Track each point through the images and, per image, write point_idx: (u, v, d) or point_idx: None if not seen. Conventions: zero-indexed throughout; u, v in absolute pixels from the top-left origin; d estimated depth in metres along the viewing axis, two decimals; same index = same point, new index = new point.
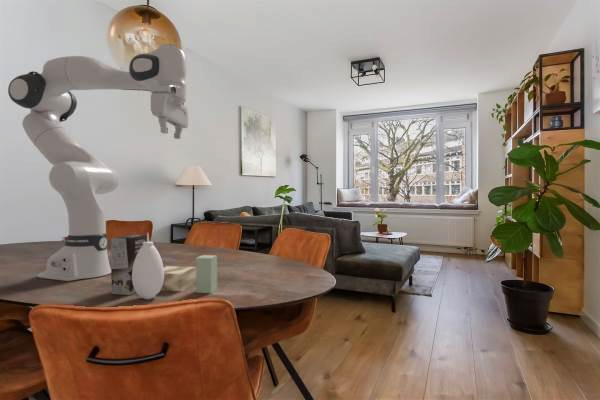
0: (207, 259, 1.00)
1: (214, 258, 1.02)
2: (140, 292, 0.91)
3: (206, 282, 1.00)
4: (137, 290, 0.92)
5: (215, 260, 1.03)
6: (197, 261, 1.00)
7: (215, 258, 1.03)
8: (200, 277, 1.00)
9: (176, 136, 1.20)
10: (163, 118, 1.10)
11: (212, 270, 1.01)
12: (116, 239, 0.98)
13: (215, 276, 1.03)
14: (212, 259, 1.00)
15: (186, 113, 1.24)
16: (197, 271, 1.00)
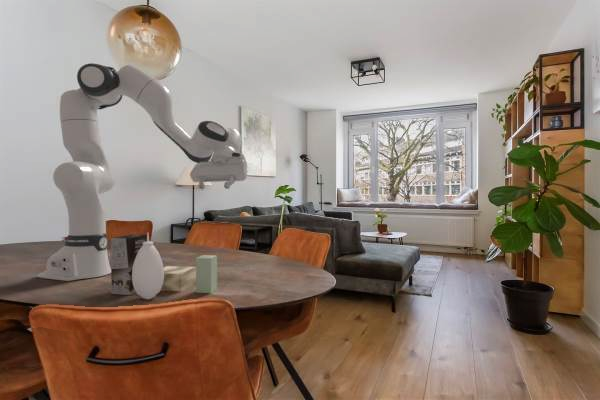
0: (207, 259, 1.00)
1: (214, 258, 1.02)
2: (140, 292, 0.91)
3: (206, 282, 1.00)
4: (137, 290, 0.92)
5: (215, 260, 1.03)
6: (197, 261, 1.00)
7: (215, 258, 1.03)
8: (200, 277, 1.00)
9: (202, 186, 1.21)
10: (234, 179, 1.22)
11: (212, 270, 1.01)
12: (116, 239, 0.98)
13: (215, 276, 1.03)
14: (212, 259, 1.00)
15: None
16: (197, 271, 1.00)
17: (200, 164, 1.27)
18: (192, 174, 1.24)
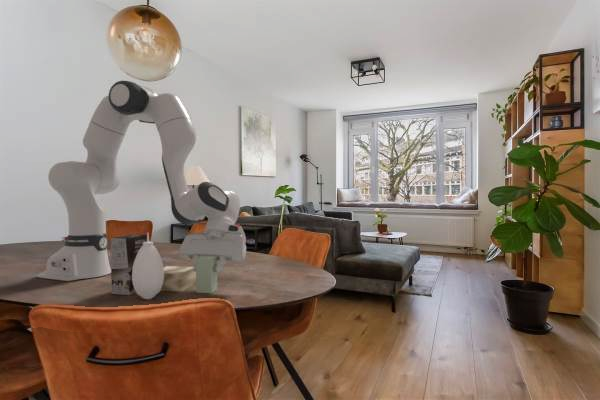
0: (207, 259, 1.00)
1: (214, 258, 1.02)
2: (140, 292, 0.91)
3: (206, 282, 1.00)
4: (137, 290, 0.92)
5: (215, 260, 1.03)
6: (197, 261, 1.00)
7: (215, 258, 1.03)
8: (200, 277, 1.00)
9: None
10: (225, 260, 1.04)
11: (212, 270, 1.01)
12: (116, 239, 0.98)
13: (215, 276, 1.03)
14: (212, 259, 1.00)
15: None
16: (197, 271, 1.00)
17: (191, 238, 1.08)
18: (181, 251, 1.05)
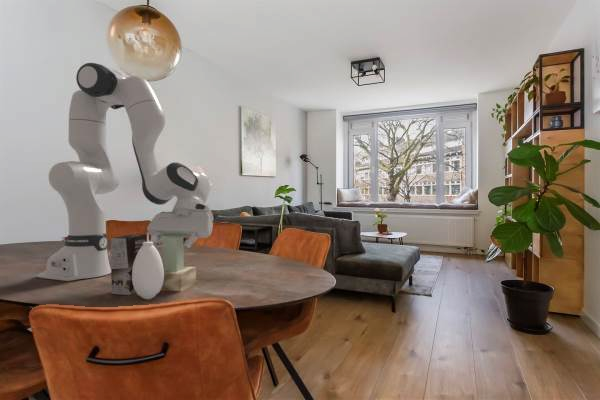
0: (173, 239, 1.04)
1: (180, 238, 1.07)
2: (140, 292, 0.91)
3: (172, 261, 1.04)
4: (137, 290, 0.92)
5: (181, 241, 1.07)
6: (163, 241, 1.05)
7: (181, 239, 1.07)
8: (166, 256, 1.05)
9: (160, 244, 1.07)
10: (197, 236, 1.08)
11: (178, 250, 1.05)
12: (116, 239, 0.98)
13: (181, 256, 1.07)
14: (178, 239, 1.05)
15: None
16: (163, 251, 1.05)
17: (160, 216, 1.13)
18: (149, 228, 1.10)
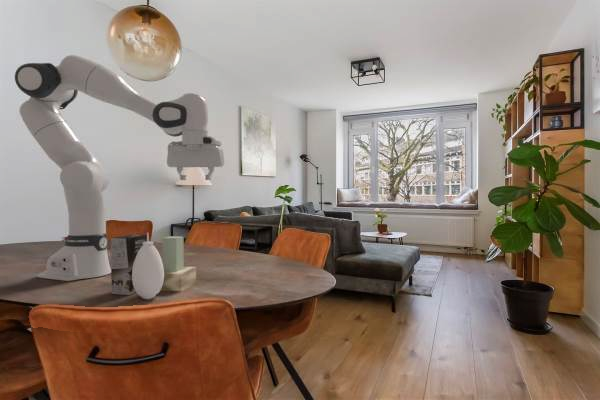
0: (173, 239, 1.04)
1: (180, 238, 1.07)
2: (140, 292, 0.91)
3: (172, 261, 1.04)
4: (137, 290, 0.92)
5: (181, 241, 1.07)
6: (163, 241, 1.05)
7: (181, 239, 1.07)
8: (166, 256, 1.05)
9: (184, 178, 1.25)
10: (213, 168, 1.24)
11: (178, 250, 1.05)
12: (116, 239, 0.98)
13: (181, 256, 1.07)
14: (178, 239, 1.05)
15: None
16: (163, 251, 1.05)
17: (173, 150, 1.23)
18: (169, 165, 1.23)
